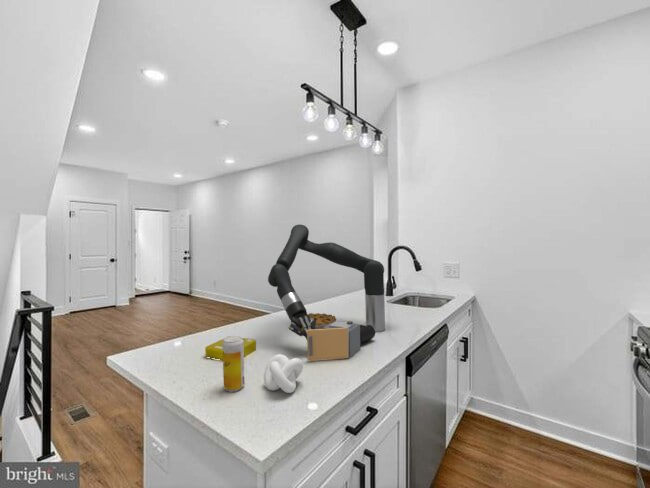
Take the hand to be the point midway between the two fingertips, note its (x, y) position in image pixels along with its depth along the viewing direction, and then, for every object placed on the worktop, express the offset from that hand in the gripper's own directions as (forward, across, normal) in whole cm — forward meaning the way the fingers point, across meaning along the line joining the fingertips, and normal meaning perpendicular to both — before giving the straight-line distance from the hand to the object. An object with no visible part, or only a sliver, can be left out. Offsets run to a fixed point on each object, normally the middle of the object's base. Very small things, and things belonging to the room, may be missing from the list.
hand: (313, 343), depth 116 cm
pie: (-18, -27, -26) cm, 41 cm away
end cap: (+6, -25, -2) cm, 26 cm away
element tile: (-14, +21, -23) cm, 34 cm away
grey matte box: (+6, -12, -1) cm, 13 cm away
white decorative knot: (+13, +22, +5) cm, 26 cm away
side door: (+8, -2, +2) cm, 9 cm away
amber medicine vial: (+5, +33, -2) cm, 33 cm away
